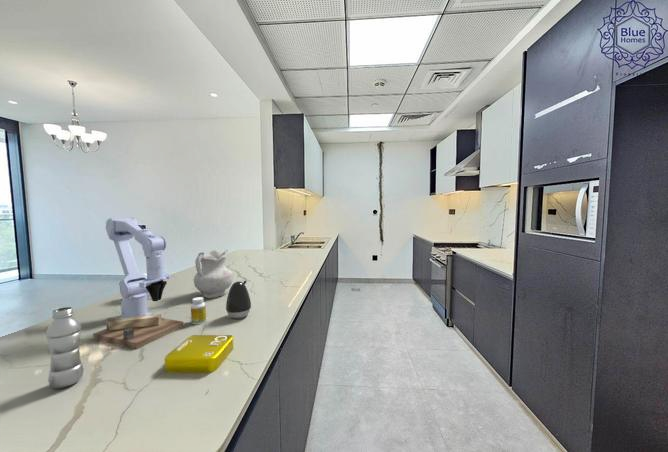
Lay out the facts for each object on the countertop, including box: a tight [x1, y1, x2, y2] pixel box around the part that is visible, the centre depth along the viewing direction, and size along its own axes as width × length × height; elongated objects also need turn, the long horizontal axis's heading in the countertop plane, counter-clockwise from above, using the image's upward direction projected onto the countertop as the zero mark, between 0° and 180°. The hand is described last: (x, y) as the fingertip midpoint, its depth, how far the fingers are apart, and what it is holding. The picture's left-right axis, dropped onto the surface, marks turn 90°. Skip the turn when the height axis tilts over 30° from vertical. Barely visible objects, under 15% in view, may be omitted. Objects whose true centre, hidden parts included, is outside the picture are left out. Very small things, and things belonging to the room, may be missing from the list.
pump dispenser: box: [225, 280, 252, 320], centre depth 114 cm, size 10×10×15 cm
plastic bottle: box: [45, 306, 85, 389], centre depth 69 cm, size 6×7×20 cm
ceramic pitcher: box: [193, 249, 234, 299], centre depth 144 cm, size 22×20×25 cm
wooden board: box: [92, 315, 185, 350], centre depth 100 cm, size 22×18×5 cm
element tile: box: [164, 334, 234, 374], centre depth 82 cm, size 15×15×5 cm
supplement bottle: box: [190, 296, 207, 325], centre depth 109 cm, size 5×5×10 cm
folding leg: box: [105, 313, 162, 330], centre depth 100 cm, size 17×3×4 cm, turn 106°
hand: (156, 300), depth 108 cm, fingers closed
